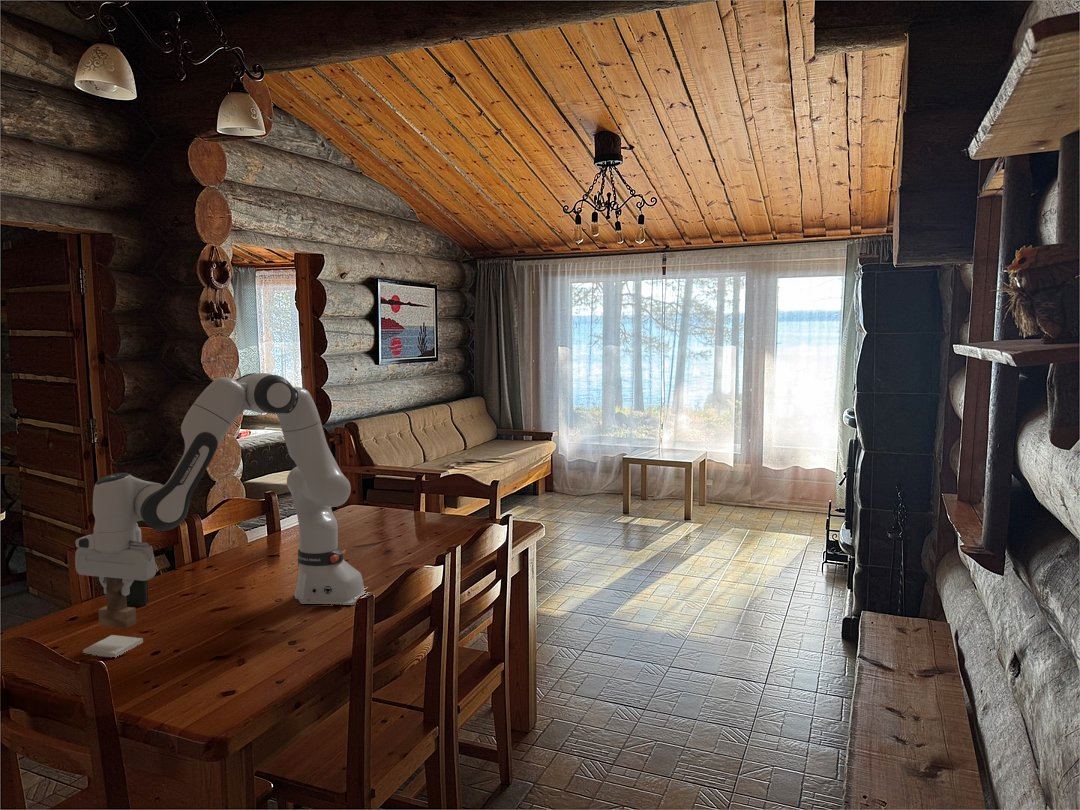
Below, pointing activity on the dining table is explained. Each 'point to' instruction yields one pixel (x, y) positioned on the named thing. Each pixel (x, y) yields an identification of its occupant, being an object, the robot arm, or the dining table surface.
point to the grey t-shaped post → (116, 607)
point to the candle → (138, 584)
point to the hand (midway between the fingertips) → (116, 594)
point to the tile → (113, 646)
